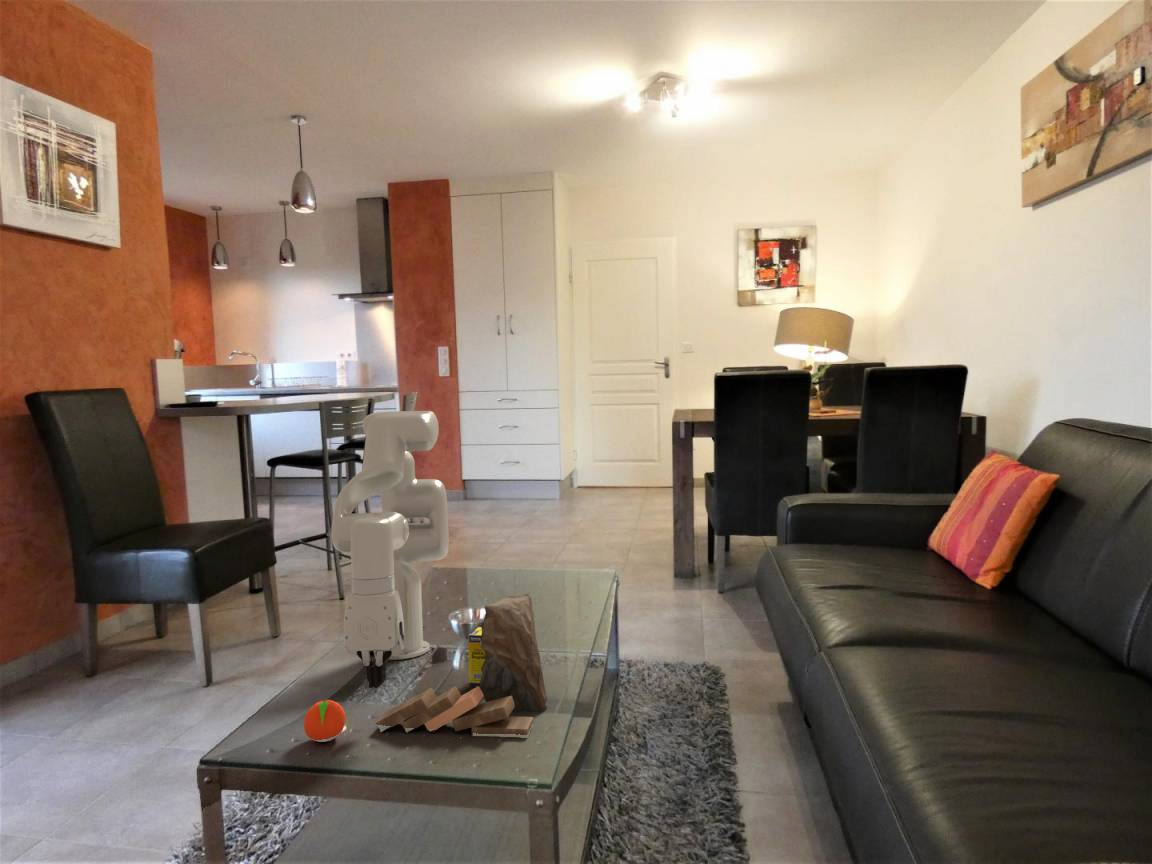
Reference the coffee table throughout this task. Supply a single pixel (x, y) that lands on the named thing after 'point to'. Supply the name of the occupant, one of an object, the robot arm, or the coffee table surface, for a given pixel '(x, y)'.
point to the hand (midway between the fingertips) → (376, 685)
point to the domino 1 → (407, 709)
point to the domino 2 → (433, 708)
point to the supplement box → (475, 657)
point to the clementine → (324, 720)
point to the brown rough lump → (512, 654)
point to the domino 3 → (456, 709)
